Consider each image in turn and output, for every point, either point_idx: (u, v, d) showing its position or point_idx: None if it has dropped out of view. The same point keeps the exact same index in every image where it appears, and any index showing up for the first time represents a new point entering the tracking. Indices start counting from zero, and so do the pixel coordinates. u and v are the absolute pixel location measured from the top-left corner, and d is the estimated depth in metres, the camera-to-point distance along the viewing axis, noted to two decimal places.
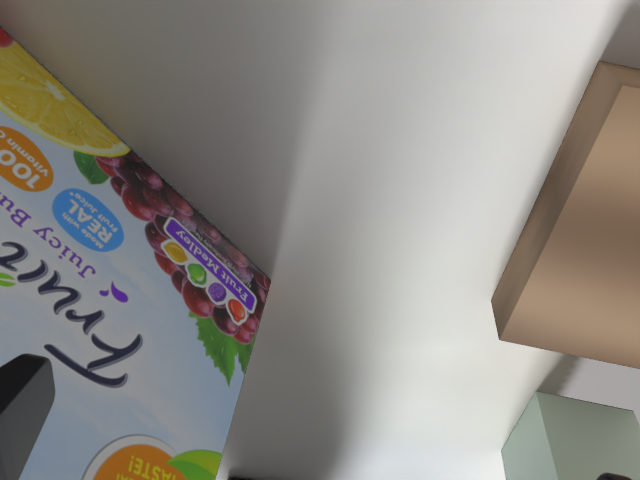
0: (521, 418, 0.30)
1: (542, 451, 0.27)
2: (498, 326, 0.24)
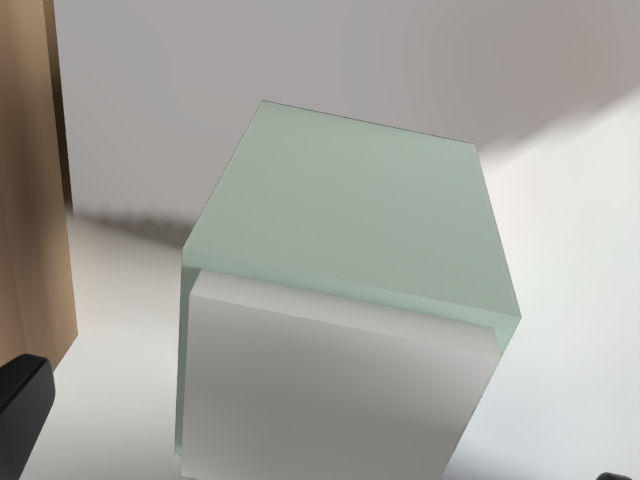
0: None
1: None
2: None
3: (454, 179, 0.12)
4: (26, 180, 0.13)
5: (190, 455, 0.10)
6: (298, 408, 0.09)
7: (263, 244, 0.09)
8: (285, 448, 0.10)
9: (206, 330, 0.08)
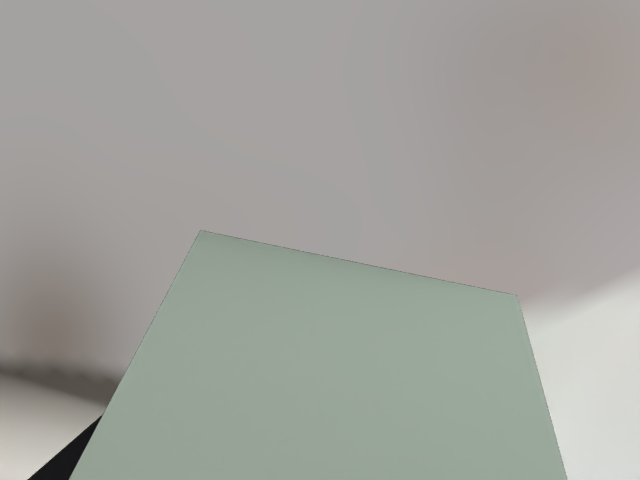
0: None
1: None
2: None
3: (494, 388, 0.07)
4: None
5: None
6: None
7: None
8: None
9: None
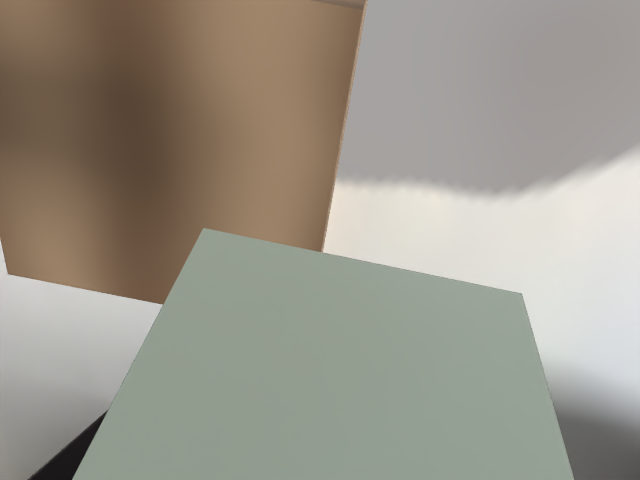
0: None
1: None
2: None
3: (499, 386, 0.07)
4: (338, 155, 0.18)
5: None
6: None
7: None
8: None
9: None
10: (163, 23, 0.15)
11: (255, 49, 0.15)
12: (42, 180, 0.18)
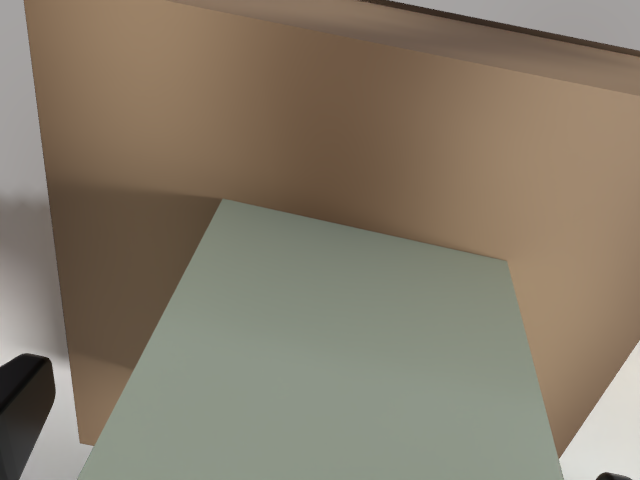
0: None
1: None
2: None
3: (484, 335, 0.08)
4: None
5: None
6: None
7: None
8: None
9: None
10: (408, 130, 0.09)
11: (560, 177, 0.09)
12: None
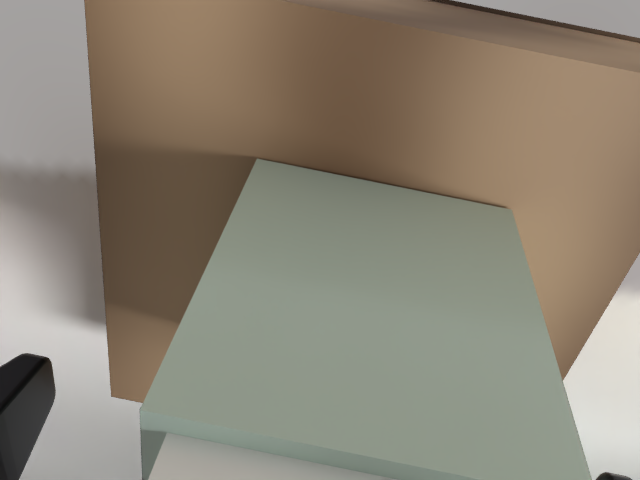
0: None
1: None
2: None
3: (492, 266, 0.09)
4: None
5: None
6: None
7: (250, 395, 0.07)
8: None
9: None
10: (413, 99, 0.10)
11: (545, 139, 0.10)
12: (181, 292, 0.13)
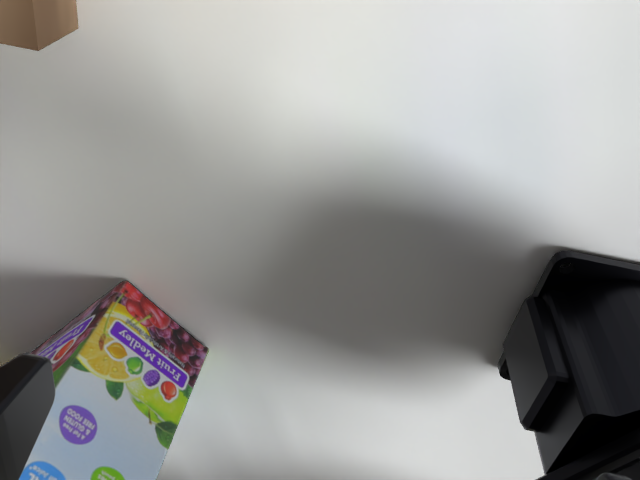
0: None
1: None
2: None
3: None
4: None
5: None
6: None
7: None
8: None
9: None
10: None
11: None
12: None
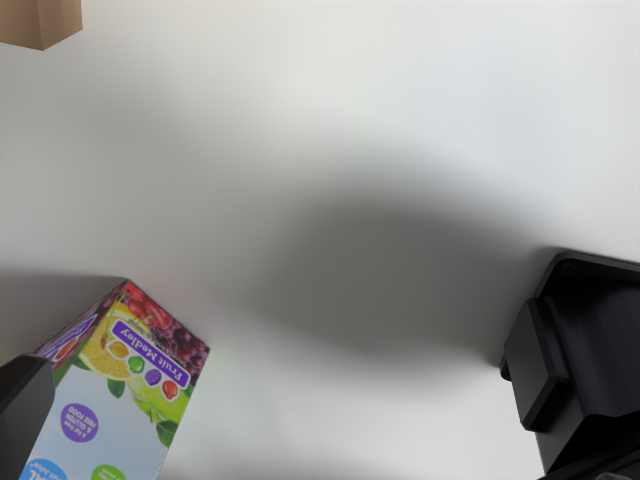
0: None
1: None
2: None
3: None
4: None
5: None
6: None
7: None
8: None
9: None
10: None
11: None
12: None
